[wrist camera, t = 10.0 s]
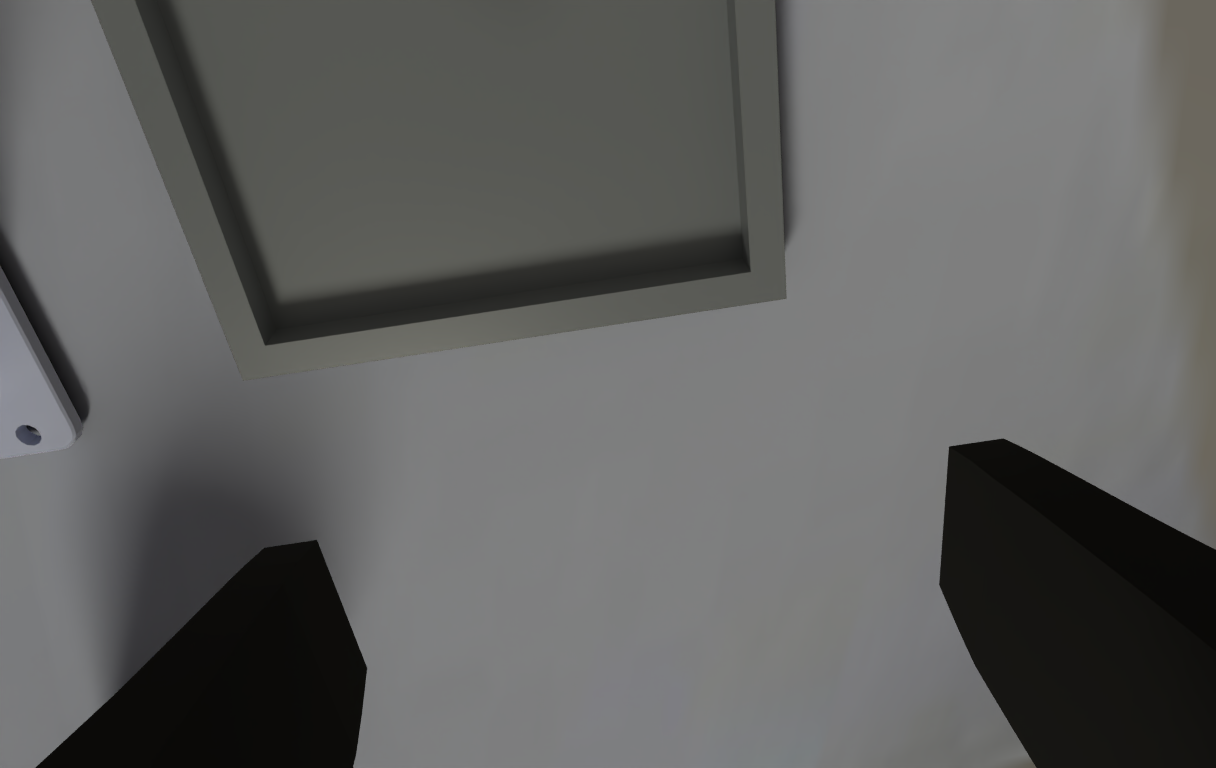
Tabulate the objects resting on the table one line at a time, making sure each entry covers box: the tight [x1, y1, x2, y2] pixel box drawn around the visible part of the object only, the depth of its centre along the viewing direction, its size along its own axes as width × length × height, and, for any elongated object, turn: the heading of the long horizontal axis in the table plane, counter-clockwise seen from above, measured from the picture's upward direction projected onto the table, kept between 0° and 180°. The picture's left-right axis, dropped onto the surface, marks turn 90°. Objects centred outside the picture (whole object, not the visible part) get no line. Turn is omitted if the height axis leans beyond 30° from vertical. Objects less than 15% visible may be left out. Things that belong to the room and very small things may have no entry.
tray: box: [91, 0, 786, 381], centre depth 15 cm, size 11×11×1 cm
